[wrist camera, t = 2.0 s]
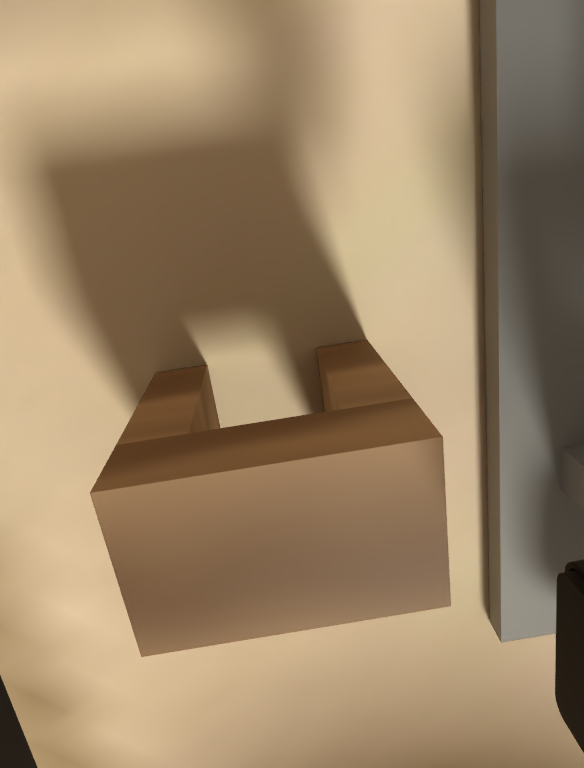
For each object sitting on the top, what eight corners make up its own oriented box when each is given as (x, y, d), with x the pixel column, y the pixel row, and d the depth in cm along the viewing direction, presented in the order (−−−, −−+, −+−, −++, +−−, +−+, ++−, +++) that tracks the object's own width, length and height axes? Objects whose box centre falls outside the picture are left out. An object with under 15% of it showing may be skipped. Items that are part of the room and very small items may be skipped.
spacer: (155, 372, 16) (89, 493, 10) (367, 340, 16) (442, 436, 10) (183, 485, 18) (141, 656, 11) (378, 454, 18) (450, 605, 11)
